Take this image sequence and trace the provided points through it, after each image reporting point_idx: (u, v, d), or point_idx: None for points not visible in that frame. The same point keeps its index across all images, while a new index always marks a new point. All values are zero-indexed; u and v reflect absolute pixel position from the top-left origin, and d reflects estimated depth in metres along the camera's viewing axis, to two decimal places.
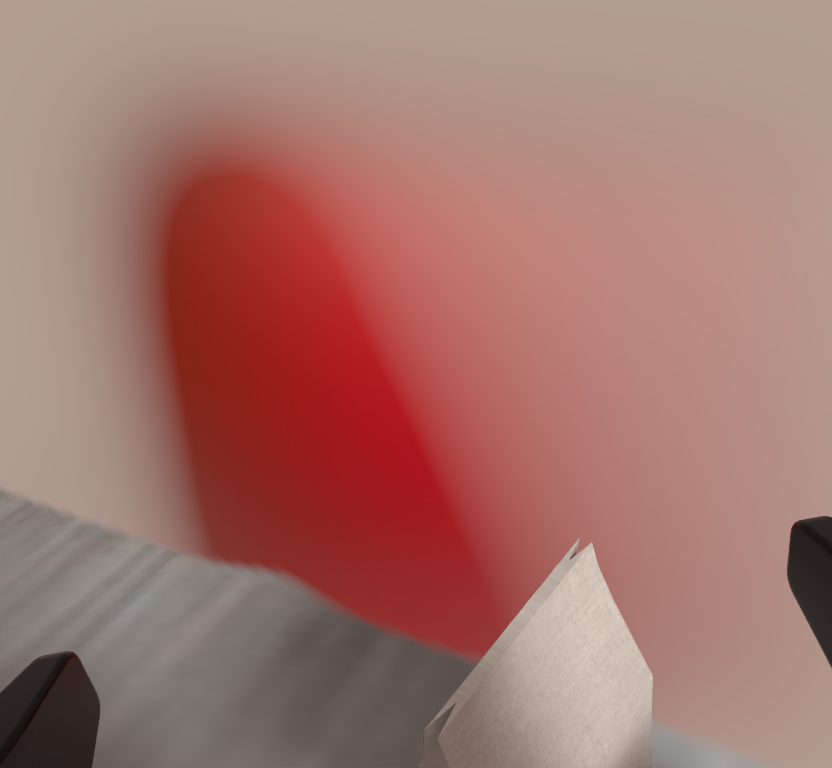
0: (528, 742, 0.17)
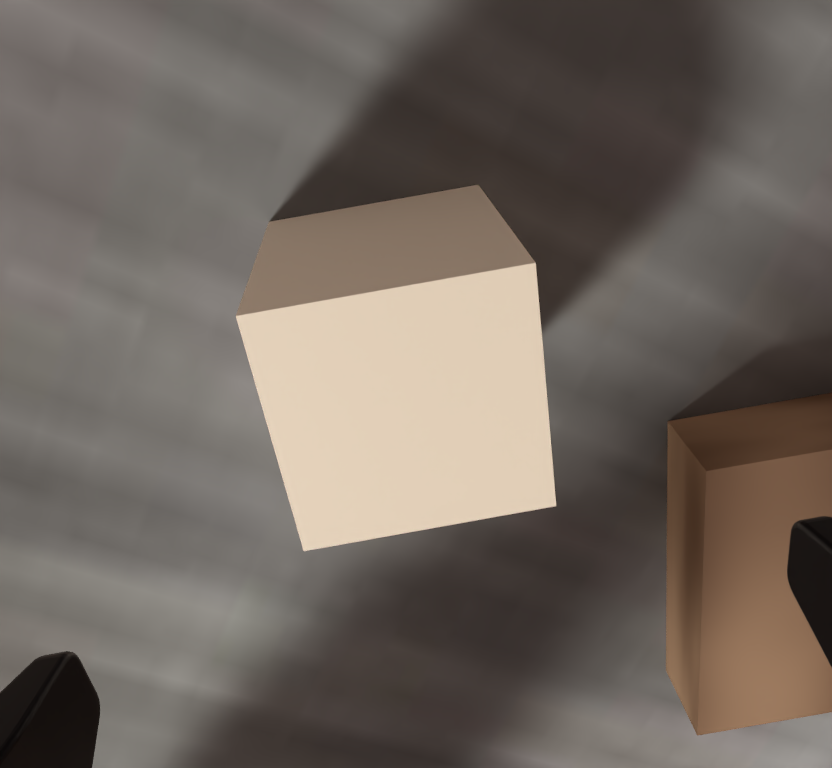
0: None
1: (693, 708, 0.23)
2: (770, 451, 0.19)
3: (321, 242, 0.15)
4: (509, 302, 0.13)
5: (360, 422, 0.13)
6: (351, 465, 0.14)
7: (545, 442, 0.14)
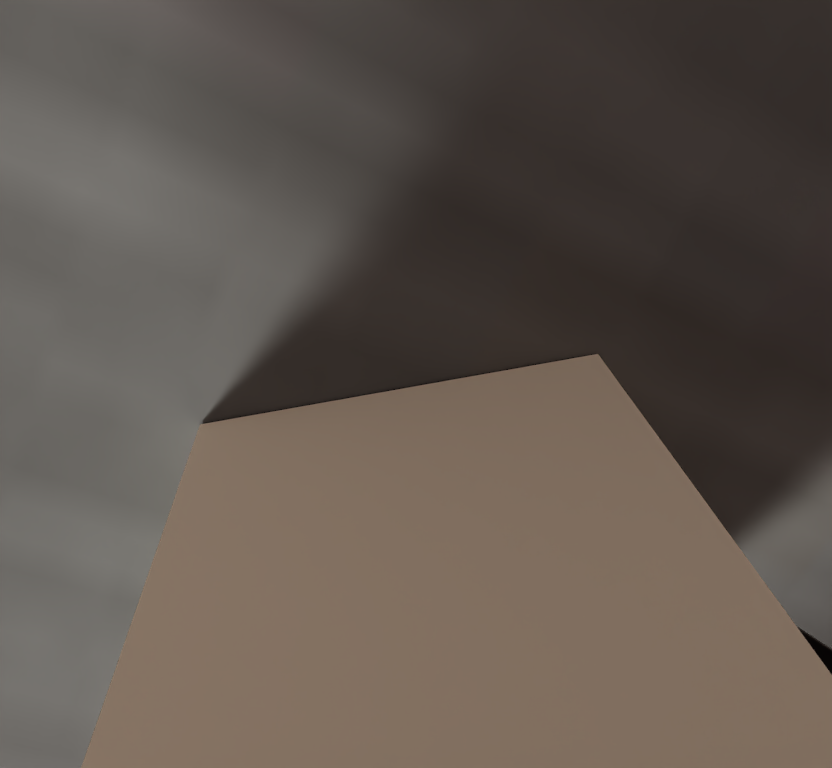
0: None
1: None
2: None
3: (293, 535, 0.07)
4: None
5: None
6: None
7: None
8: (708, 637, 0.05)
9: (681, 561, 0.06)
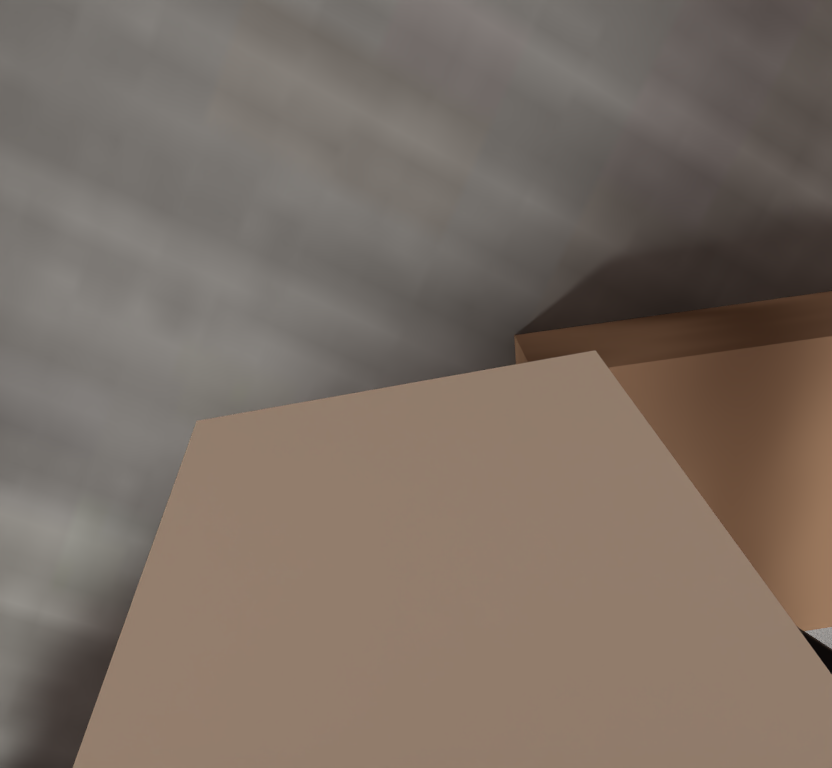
0: None
1: None
2: (605, 360, 0.18)
3: (290, 531, 0.07)
4: None
5: None
6: None
7: None
8: (704, 632, 0.05)
9: (677, 556, 0.06)
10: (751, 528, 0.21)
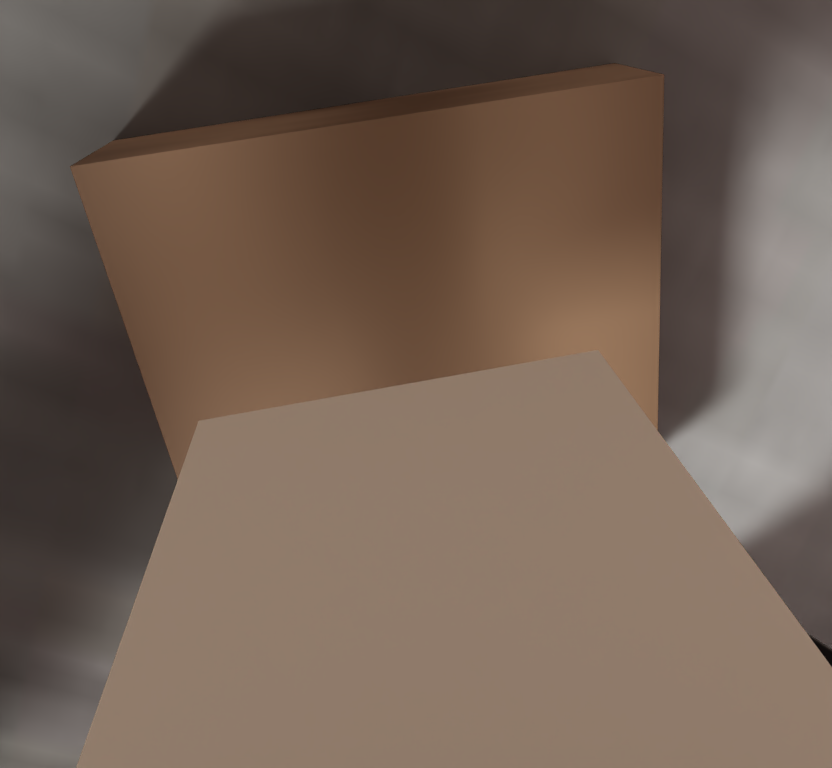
0: None
1: None
2: (183, 145, 0.13)
3: (292, 531, 0.07)
4: None
5: None
6: None
7: None
8: (709, 632, 0.05)
9: (682, 556, 0.06)
10: None
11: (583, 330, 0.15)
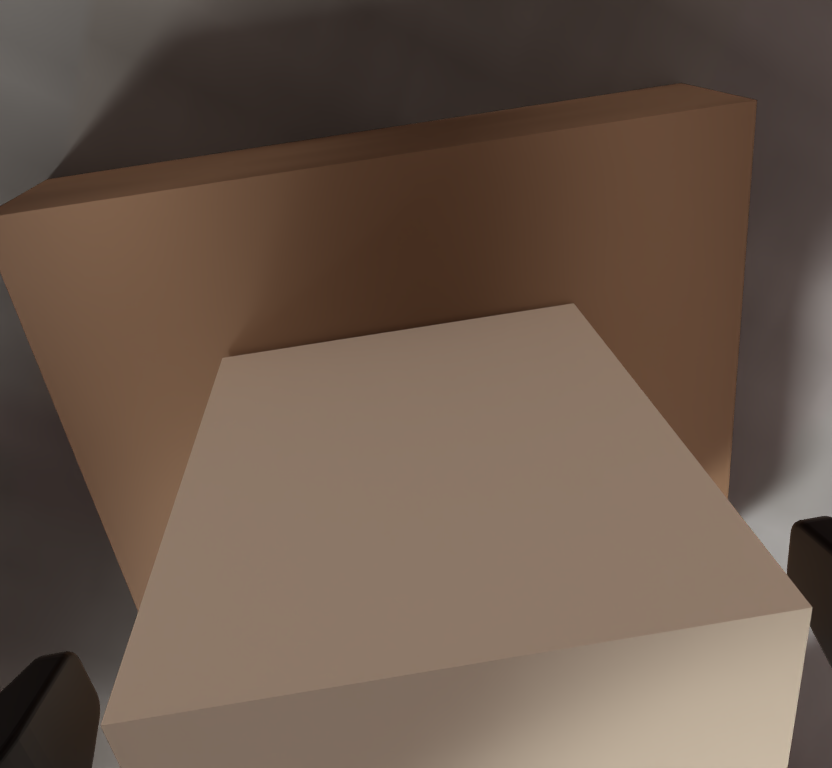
0: None
1: None
2: (129, 190, 0.10)
3: (310, 436, 0.08)
4: (737, 681, 0.06)
5: None
6: None
7: None
8: (650, 498, 0.07)
9: (633, 449, 0.07)
10: None
11: None
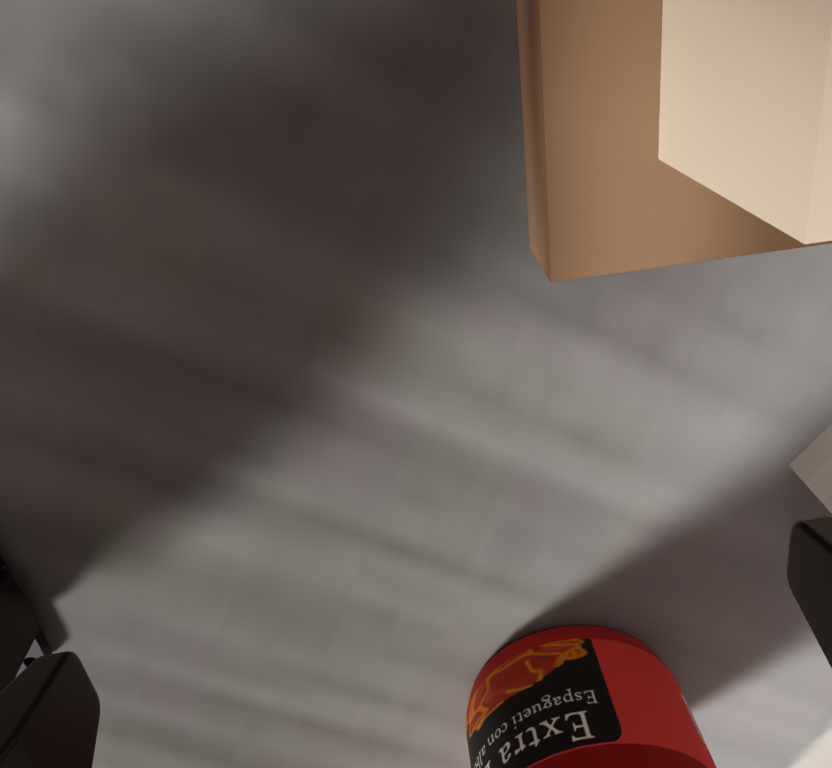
0: None
1: (546, 242, 0.17)
2: None
3: None
4: None
5: None
6: None
7: None
8: None
9: None
10: None
11: None
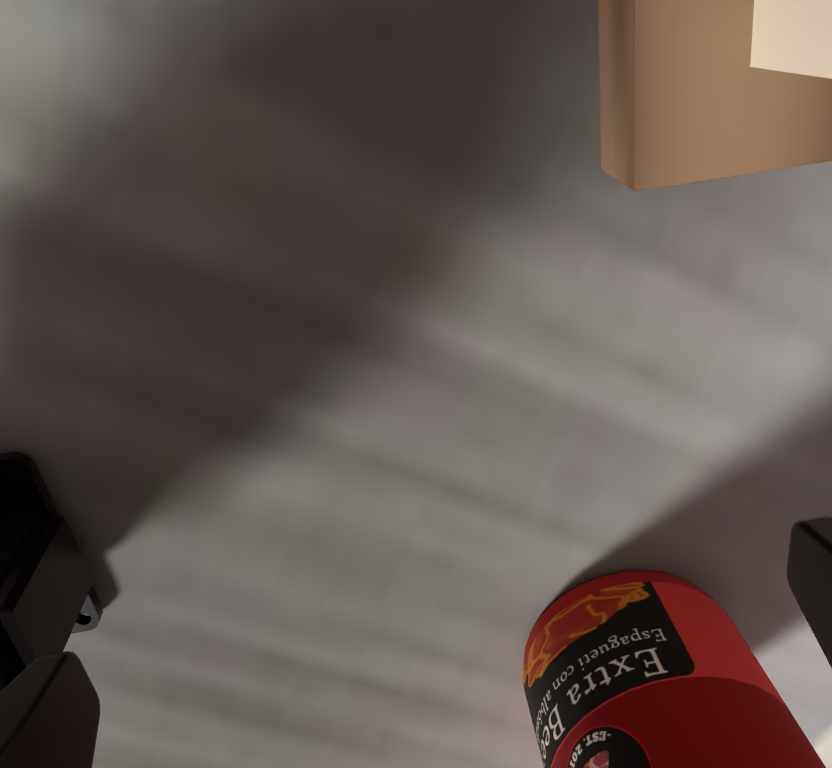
0: None
1: (629, 150, 0.17)
2: None
3: None
4: None
5: None
6: None
7: None
8: None
9: None
10: None
11: None
